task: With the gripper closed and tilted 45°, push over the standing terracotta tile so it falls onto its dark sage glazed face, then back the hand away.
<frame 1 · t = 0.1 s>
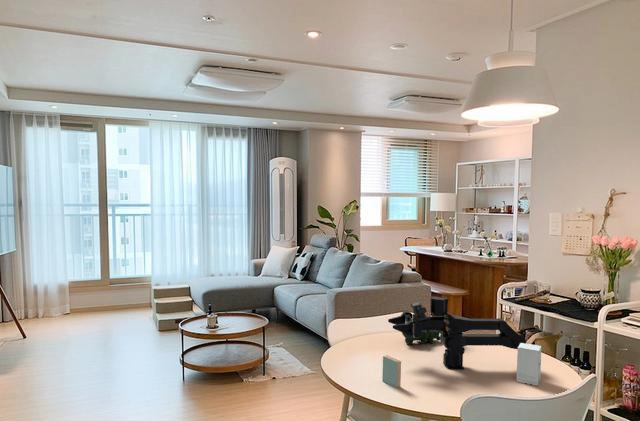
hand: (390, 323, 178), 17 cm above the table, tool horizontal, fingers open, 9 cm apart
supplement box: (528, 381, 167), on the table
toy figurine: (421, 343, 210), on the table
tile: (391, 384, 161), on the table
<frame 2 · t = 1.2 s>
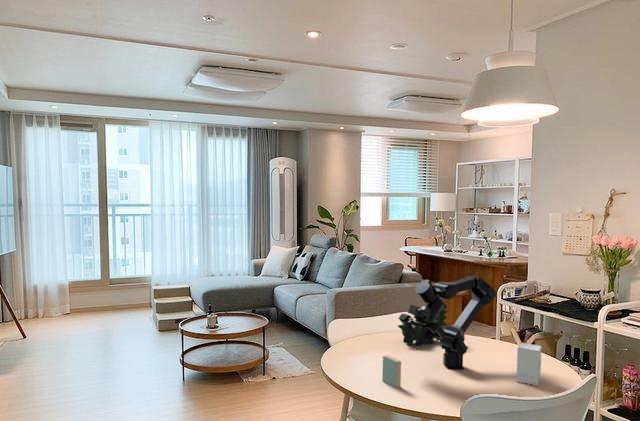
hand: (409, 344, 165), 13 cm above the table, tool tilted 45°, fingers open, 5 cm apart
nothing on the table moved.
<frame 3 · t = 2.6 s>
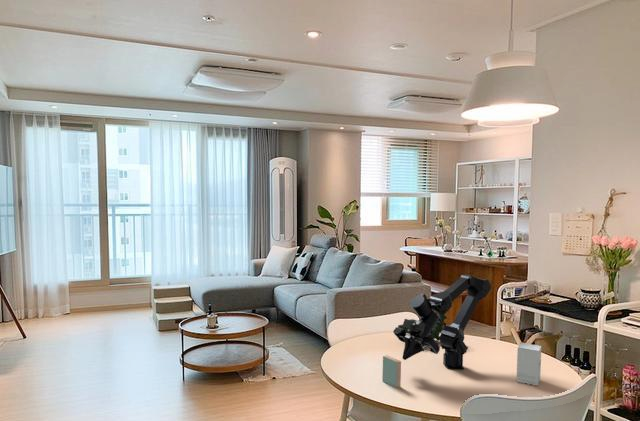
hand: (403, 359, 164), 8 cm above the table, tool tilted 45°, fingers closed
nothing on the table moved.
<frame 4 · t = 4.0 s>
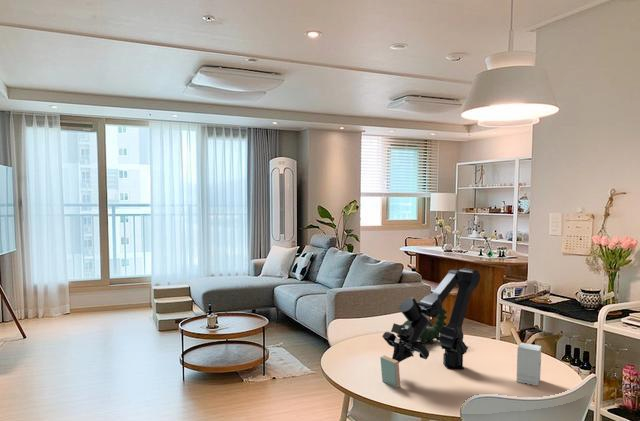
hand: (392, 364, 161), 7 cm above the table, tool tilted 45°, fingers closed
tile: (391, 383, 161), on the table, tilted 8°, touching gripper
everything else where it was.
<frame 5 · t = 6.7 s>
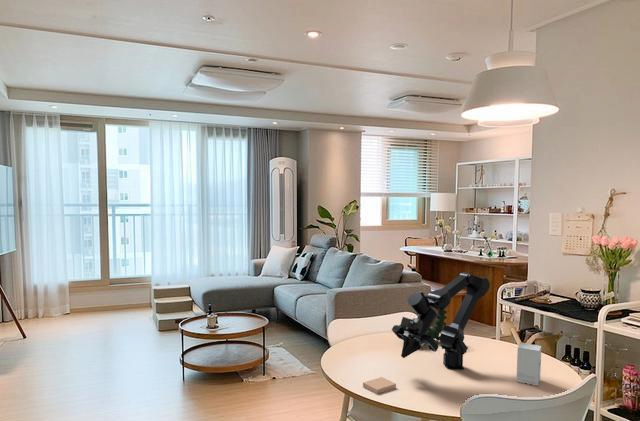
hand: (402, 357, 164), 9 cm above the table, tool tilted 45°, fingers closed
tile: (388, 383, 160), on the table, tilted 90°
everything else where it was.
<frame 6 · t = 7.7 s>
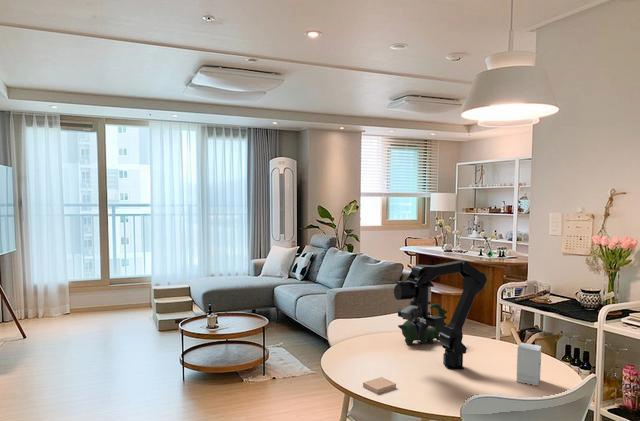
hand: (419, 339, 174), 12 cm above the table, tool pointing down, fingers closed
nothing on the table moved.
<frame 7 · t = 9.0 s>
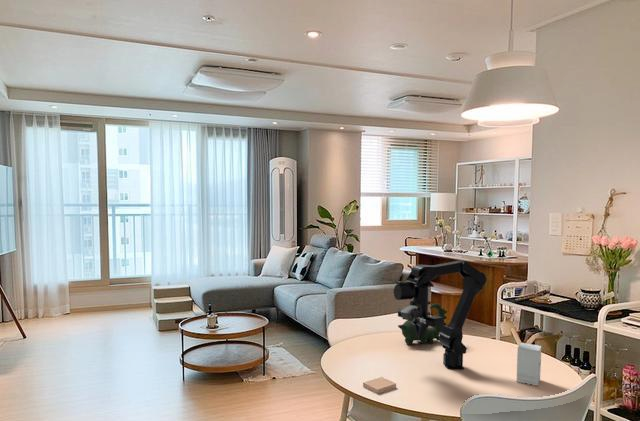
hand: (419, 339, 174), 12 cm above the table, tool pointing down, fingers closed
nothing on the table moved.
at the end: tile tilted 90°; tile inside the target area (0.7 cm from its centre), point 0.5 cm above the table; the gripper is holding nothing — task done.
